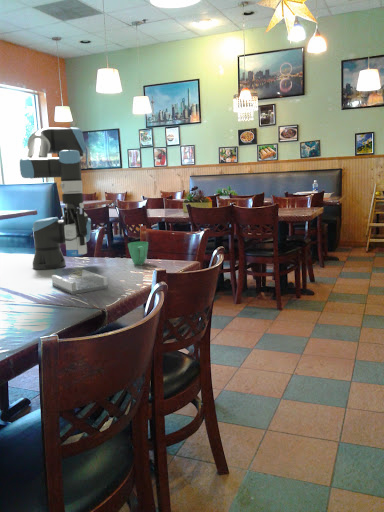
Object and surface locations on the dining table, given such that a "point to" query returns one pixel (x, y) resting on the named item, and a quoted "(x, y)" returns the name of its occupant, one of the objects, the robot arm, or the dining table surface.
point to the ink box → (72, 241)
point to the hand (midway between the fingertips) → (77, 252)
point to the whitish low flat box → (81, 283)
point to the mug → (138, 251)
